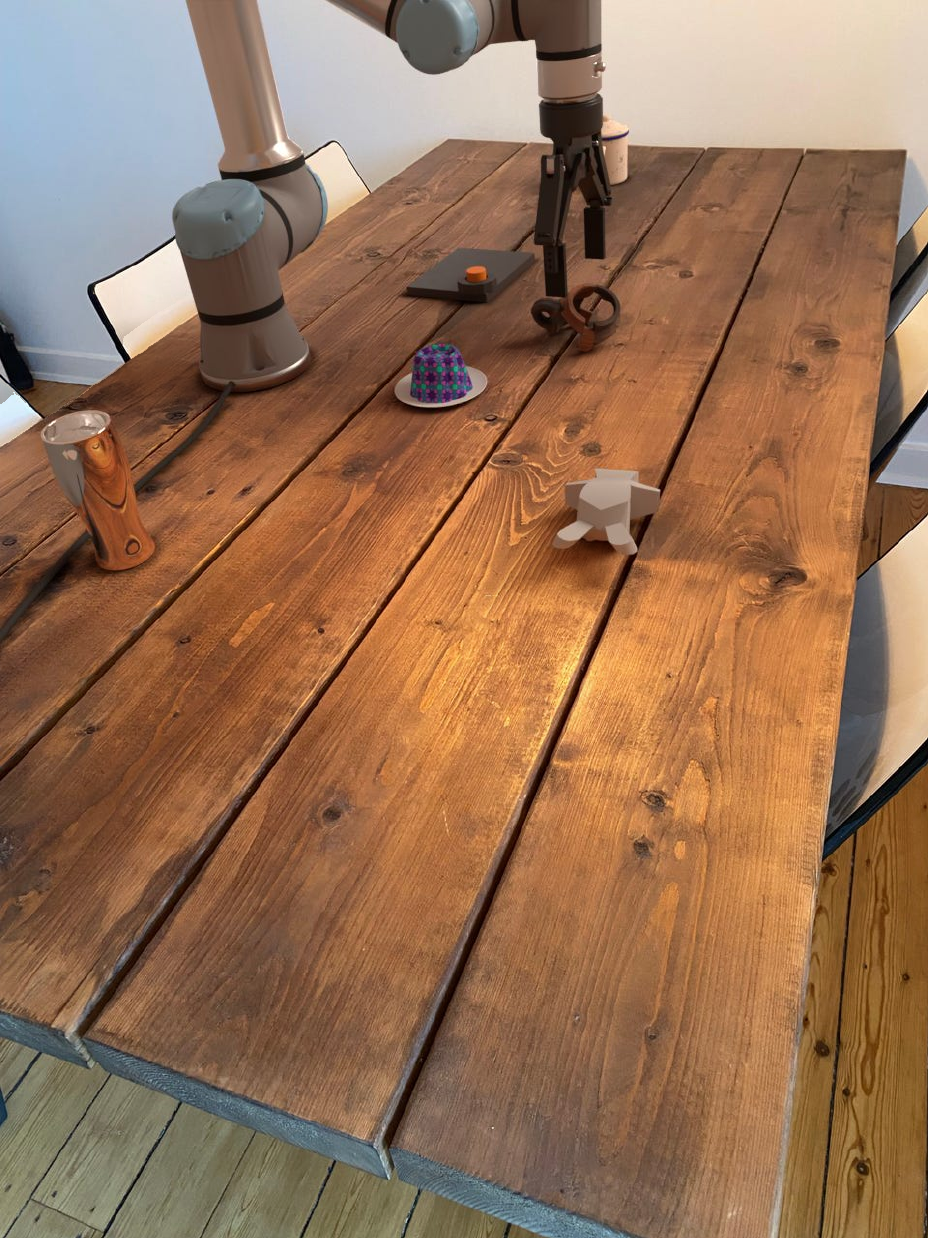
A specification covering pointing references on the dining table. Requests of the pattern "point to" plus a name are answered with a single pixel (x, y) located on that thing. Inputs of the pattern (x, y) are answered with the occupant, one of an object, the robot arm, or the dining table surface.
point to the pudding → (440, 378)
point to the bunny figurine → (607, 509)
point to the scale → (452, 279)
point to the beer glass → (98, 486)
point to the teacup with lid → (615, 149)
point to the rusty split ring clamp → (578, 315)
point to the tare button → (476, 274)
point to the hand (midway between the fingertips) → (576, 276)
